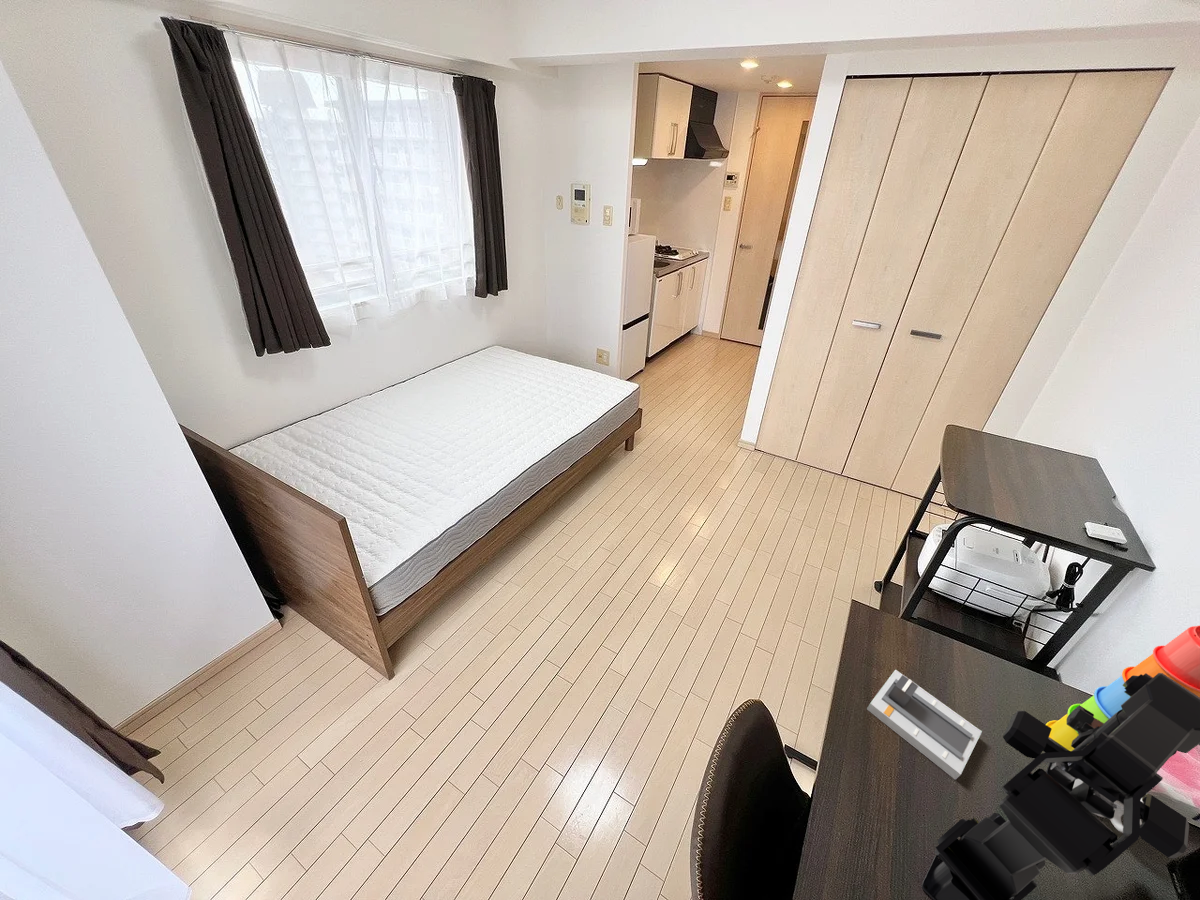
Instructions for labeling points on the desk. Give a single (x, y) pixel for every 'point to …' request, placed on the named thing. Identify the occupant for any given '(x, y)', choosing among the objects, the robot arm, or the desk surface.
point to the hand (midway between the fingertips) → (1054, 803)
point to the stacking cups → (1186, 659)
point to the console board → (928, 726)
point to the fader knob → (903, 691)
